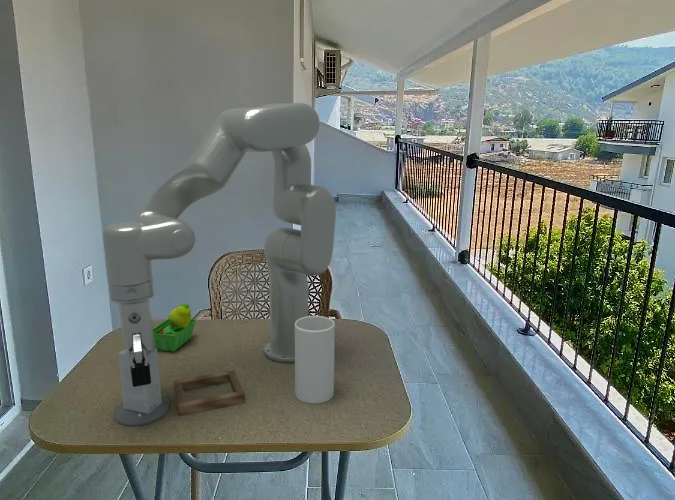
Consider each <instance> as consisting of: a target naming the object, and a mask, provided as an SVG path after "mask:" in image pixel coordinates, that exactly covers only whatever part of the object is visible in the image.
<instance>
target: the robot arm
mask: <svg viewBox="0 0 675 500" xmlns="http://www.w3.org/2000/svg"><path fill="white" fill-rule="evenodd" d="M320 122H321V121H320V118H319V114H318V113H317V111H316V109H314V108H313V106H311V105H310V104H307V103H304V102H291V103H286V102H285V103H279V102H278V103H269V104H264V105H261V106H259V107H238V108H237V107H236V108H234V107H233V108H228V109H225V110H224V111H221V113H220V114H219V115H218V116H217V118H215V120H214V122H213V123H212V125H211V126H210V128H209V129H208V130H207V132H206V134H205V135H204V137H203V139H202V140H201V142H200V143H199V145H198V146H197V148H195V151H193V154H191V156H190V157H189V159H188V161H186V163H185V164H184V165H183V166H182V167H181V168H179V169H178V170H177V171H176V172H175V173H173V175H171V176H169V178H168V179H167V180H166V181H164V182H163V183H162V184H161V185H160V186H159V187H157V188H156V190H155V191H153V193H152V195H151V196H150V197H149V198H148V200H146V201H147V202H146V203H145V204H144V205H143V207H142V209H141V210H140V212H139V213H138V215H137V216H136V218H135V221H124V222H123V221H121V222H116V223H111V224H110V225H107V226H106V227H104V229H103V231H102V239H103V248H104V249H103V250H104V255H105V262H106V273H107V279H108V289H109V296H110V297H109V298H110V301H111V302H112V303H115V304H118V312H119V318H120V325H121V331H122V332H121V333H122V338H123V342H124V346H125V349H126V352H127V353H128V354H131V366H130V368H131V377H132V385H133V387H137V386H142V385H148V384H150V383H151V376H150V366H149V363H148V361H147V350H148V351H149V350H151V351H153V350H154V348H155V345H154V337H153V329H154V328H153V318H152V310H151V309H152V308H151V303H150V299H151V298H153V297H154V296H155V288H154V287H155V286H154V278H153V277H154V276H153V268H152V261H154V260H173V259H178V258H179V259H180V258H182V257H184V256H186V255H187V254H189V253H190V252H191V251H192V250H193V248H194V246H195V244H196V234H195V231H194V229H193V228H192V226H190V224H188V223H187V222H186V221H183V220H181V219H179V218H180V216H181V215H182V214H183V213H184V211H186V209H188V208H189V207H190V206H191V205H193V204H194V203H196V202H197V201H200V200H201V199H204V198H207V197H209V196H212V195H214V194H216V193H217V192H220V191H222V190H223V189H224V188H225V187H226V185H228V182H229V181H230V179H231V177H232V175H233V174H234V172H235V171H236V169H237V168H238V166H239V165H240V163H241V161H242V160H243V158H244V157H245V155H246V154H247V152H252V153H253V152H255V153H265V152H271V153H272V156H273V157H272V158H273V161H274V181H273V199H272V209H273V214H274V215H275V217H276V218H277V219H279V220H280V221H282V222H285V223H288V224H291V225H292V224H293V225H299V226H300V229H296V228H292V227H291V228H290V227H280V228H276V229H274V230H273V231H271V232H270V233H269V234H268V236H267V237H266V238H265V242H264V257H265V262H266V267H267V272H268V284H269V286H268V287H269V289H268V290H269V292H268V293H269V295H268V297H269V336H270V337H269V338H270V340H269V342H268V343H266V344H265V345H264V348H263V351H264V355H265V357H267V358H268V359H270V360H272V361H276V362H280V363H295V322H296V320H298V319H300V318H302V317H306V316H309V279H308V276H314V277H315V276H319V275H321V274H324V273H325V272H326V271H327V270H328V268H329V266H330V264H331V261H332V258H333V251H334V244H335V241H334V240H335V230H336V215H337V214H336V213H337V207H336V203H335V199H334V196H333V195H332V193H331V192H330V191H329V190H328V188H325V187H323V186H320V185H315V184H312V158H311V154H310V151H309V148H308V147H307V144H308V143H310V142H312V141H313V140H314V139H315V138H316V137H317V135H318V133H319V131H320V126H321V125H320V124H321V123H320ZM141 347H144V348H143V349H141ZM132 348H134V350H132ZM142 353H144V356H142ZM134 356H135V357H134Z"/></svg>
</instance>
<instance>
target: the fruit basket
mask: <svg viewBox="0 0 675 500" xmlns="http://www.w3.org/2000/svg"><path fill="white" fill-rule="evenodd" d="M196 322H197V319H195V318H192V309H191V308H190V305H189V304H188V303H187V302H186V303H184V302H182V303H180V304H179V306H177V307H176V308H174V309H172V311H170V312H169V314H168V318H167V319H166V320H164V321H163V322H161V323H159V324H158V325H157V326H155V327H154V328H153V337H154V348H155V349H157V351H164V352H176V351H177V350H178V349H179V348H181V347H182V346H183V345H184V344H186V343H187V342H188V341H189V340H191V339H192V336H193V333H194V329H195V328H194V327H195V324H196Z"/></svg>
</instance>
